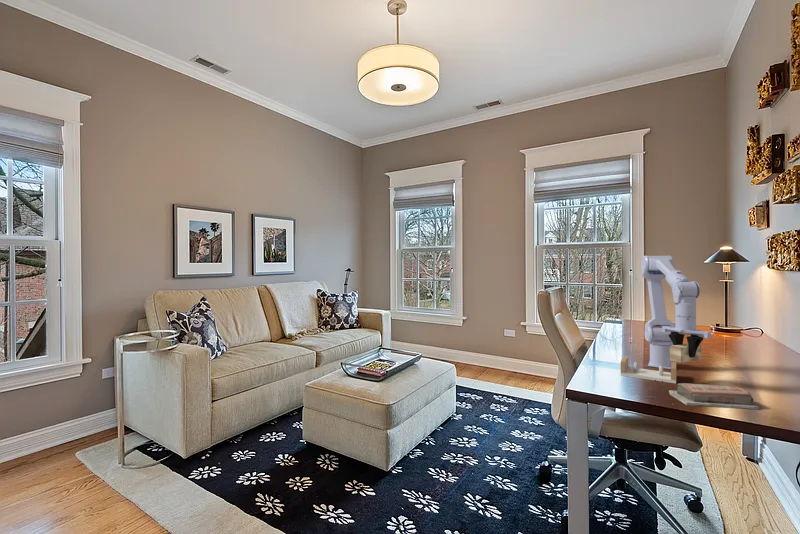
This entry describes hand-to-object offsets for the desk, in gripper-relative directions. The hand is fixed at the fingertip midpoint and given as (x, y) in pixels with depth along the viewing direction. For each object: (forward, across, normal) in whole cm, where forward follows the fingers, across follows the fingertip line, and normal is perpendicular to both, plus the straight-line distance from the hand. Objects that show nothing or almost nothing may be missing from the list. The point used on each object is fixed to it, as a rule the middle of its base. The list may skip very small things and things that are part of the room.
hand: (685, 355), depth 131 cm
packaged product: (+9, +16, -15) cm, 24 cm away
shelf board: (+1, 0, 0) cm, 1 cm away
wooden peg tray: (+9, -9, -6) cm, 14 cm away
